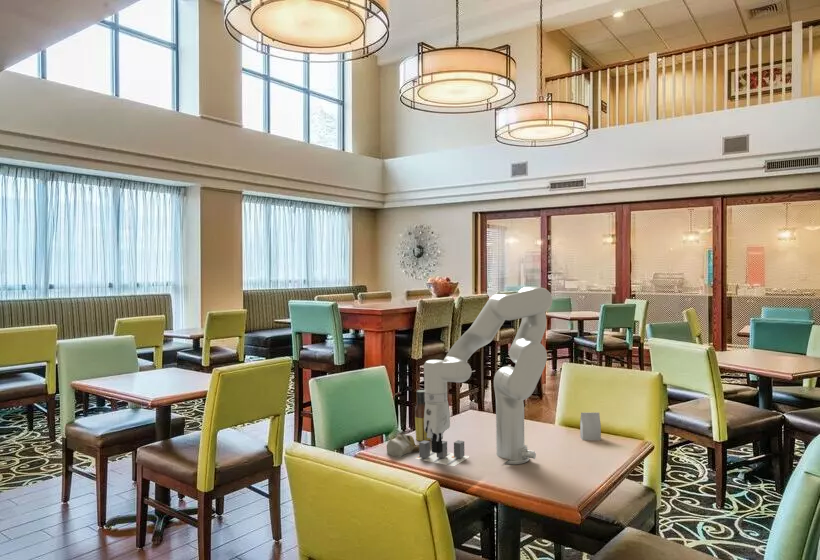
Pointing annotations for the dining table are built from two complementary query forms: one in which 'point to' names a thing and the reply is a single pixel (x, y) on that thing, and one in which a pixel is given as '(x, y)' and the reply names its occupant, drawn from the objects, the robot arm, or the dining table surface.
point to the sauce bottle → (420, 417)
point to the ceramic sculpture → (402, 445)
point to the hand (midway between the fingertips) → (436, 451)
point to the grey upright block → (590, 426)
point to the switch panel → (444, 459)
